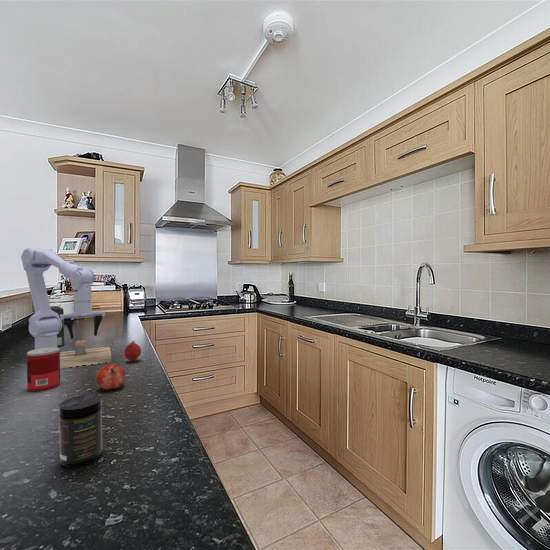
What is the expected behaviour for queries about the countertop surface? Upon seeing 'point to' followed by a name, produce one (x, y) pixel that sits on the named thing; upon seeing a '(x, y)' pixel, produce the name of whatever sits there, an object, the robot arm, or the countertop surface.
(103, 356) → the beige wooden board
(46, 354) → the canned food
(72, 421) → the supplement container
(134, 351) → the onion
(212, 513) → the countertop surface
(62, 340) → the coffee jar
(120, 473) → the countertop surface
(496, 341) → the countertop surface
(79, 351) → the orange brown rectangular block
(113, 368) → the pomegranate
